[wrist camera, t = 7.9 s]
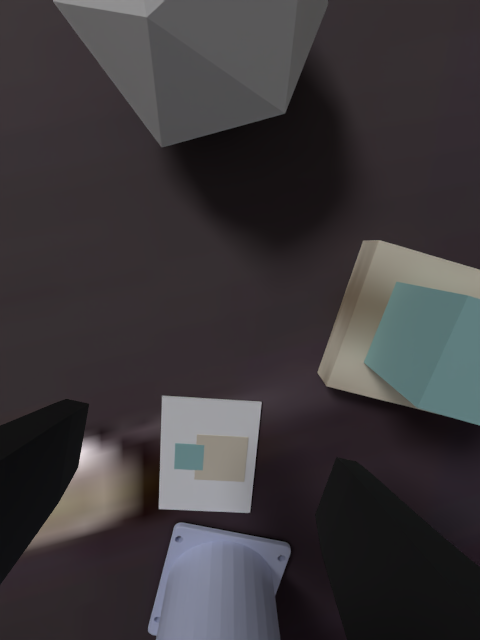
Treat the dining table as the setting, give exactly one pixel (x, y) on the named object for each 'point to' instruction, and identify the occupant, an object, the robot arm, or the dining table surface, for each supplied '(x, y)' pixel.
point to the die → (199, 58)
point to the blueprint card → (208, 453)
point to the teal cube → (431, 350)
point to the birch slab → (382, 311)
